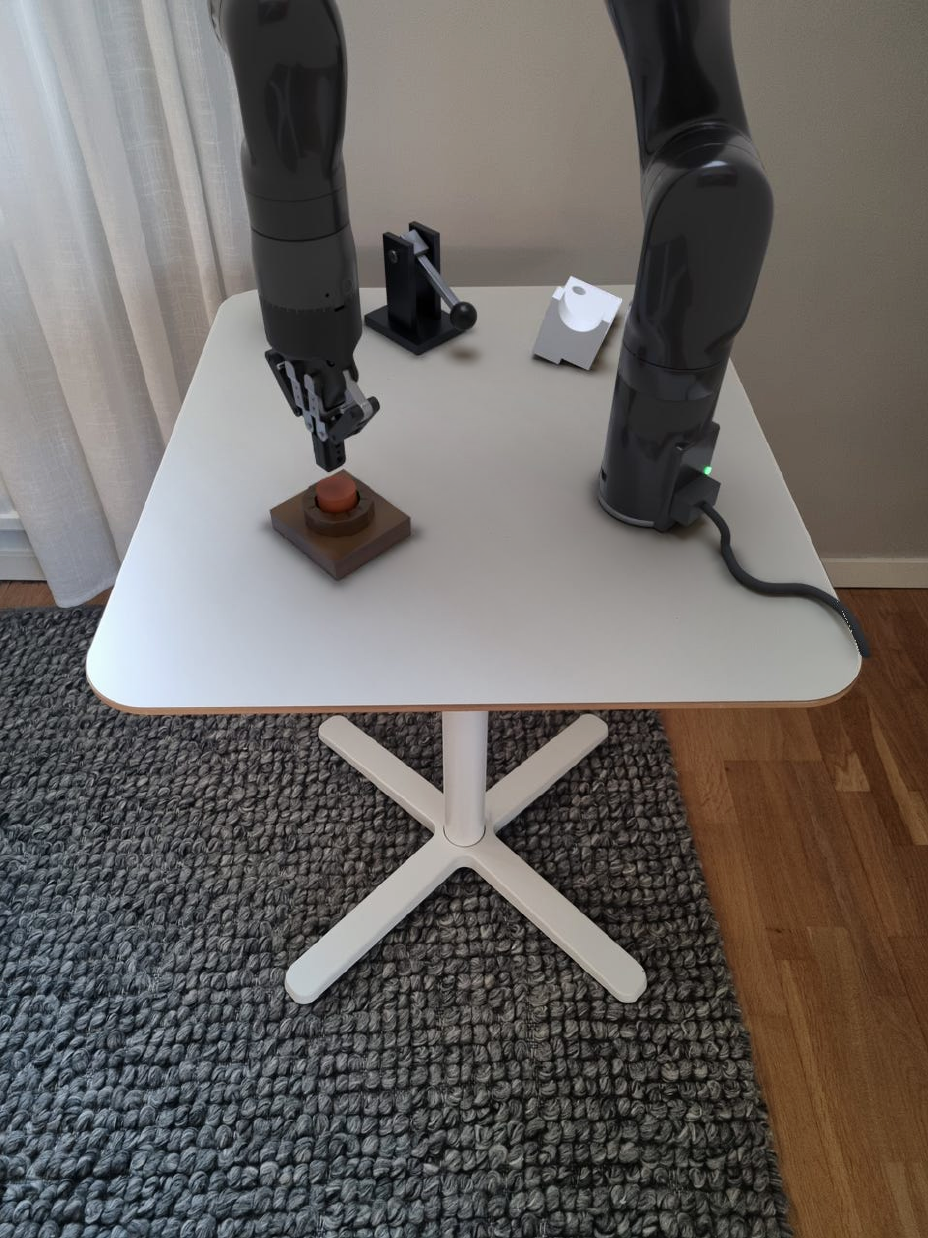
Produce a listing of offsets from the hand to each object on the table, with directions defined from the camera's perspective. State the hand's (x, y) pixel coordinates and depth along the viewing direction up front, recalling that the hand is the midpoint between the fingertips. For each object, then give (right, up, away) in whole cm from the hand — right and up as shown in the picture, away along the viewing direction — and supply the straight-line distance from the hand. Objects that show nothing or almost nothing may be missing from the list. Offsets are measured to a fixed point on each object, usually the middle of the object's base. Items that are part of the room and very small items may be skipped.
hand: (331, 465), depth 78 cm
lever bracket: (+6, +23, +31) cm, 38 cm away
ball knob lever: (+8, +25, +24) cm, 36 cm away
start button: (0, -3, +3) cm, 4 cm away
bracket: (+26, +21, +29) cm, 44 cm away
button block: (0, -5, +6) cm, 8 cm away
